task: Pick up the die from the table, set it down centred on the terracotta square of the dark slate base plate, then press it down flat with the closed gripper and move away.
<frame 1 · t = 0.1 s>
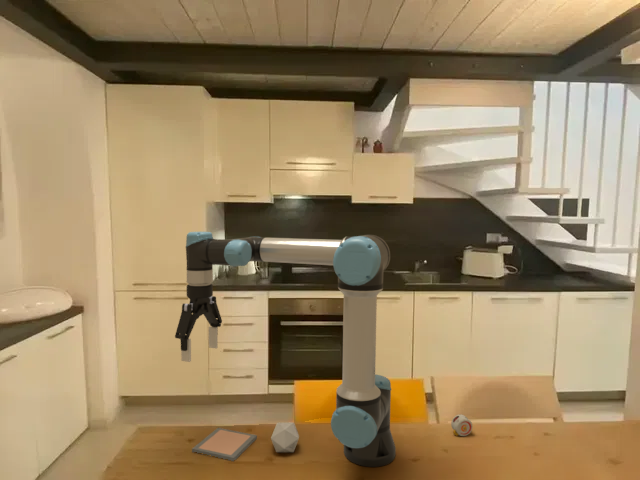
hand: (200, 354, 138), 28 cm above the table, tool pointing down, fingers open, 13 cm apart
roller toy: (461, 434, 148), on the table
die: (285, 450, 137), on the table
base plate: (225, 445, 139), on the table
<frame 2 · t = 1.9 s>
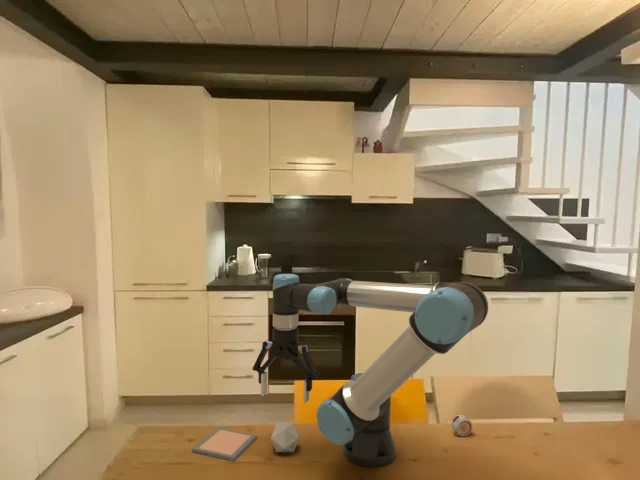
hand: (284, 397, 136), 16 cm above the table, tool pointing down, fingers open, 13 cm apart
nothing on the table moved.
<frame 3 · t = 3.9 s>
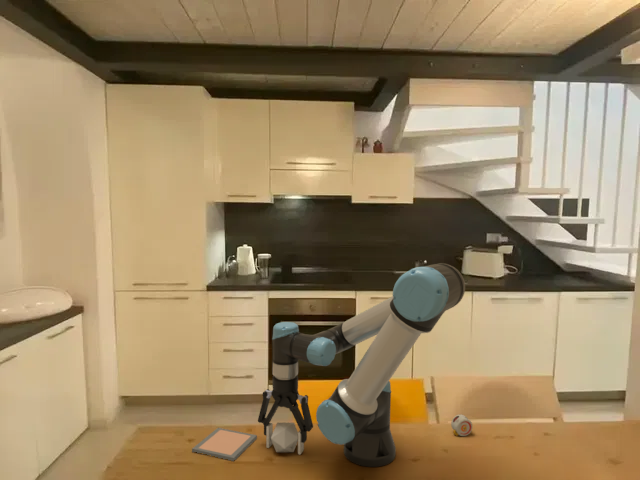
hand: (285, 448, 137), 0 cm above the table, tool pointing down, fingers open, 9 cm apart
die: (285, 450, 137), on the table, touching gripper
everything else where it was.
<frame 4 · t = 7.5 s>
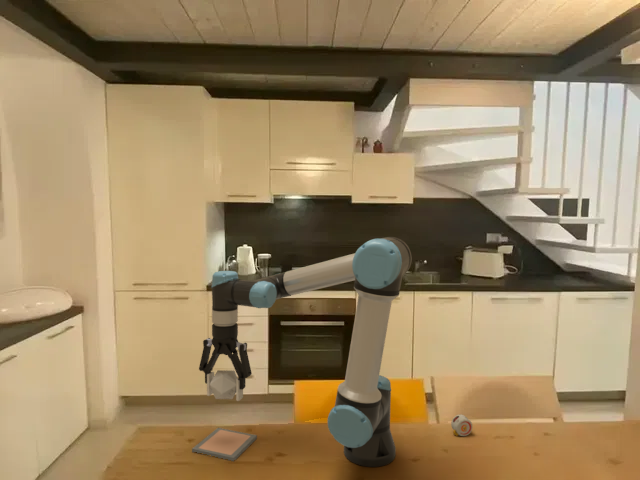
hand: (224, 396, 138), 15 cm above the table, tool pointing down, fingers closed on die, 9 cm apart
die: (225, 397, 139), point 15 cm above the table, touching gripper
everything else where it was.
when the fingers open (2 cm above the table, at t = 10.0 s): die drops 1 cm, resting on base plate.
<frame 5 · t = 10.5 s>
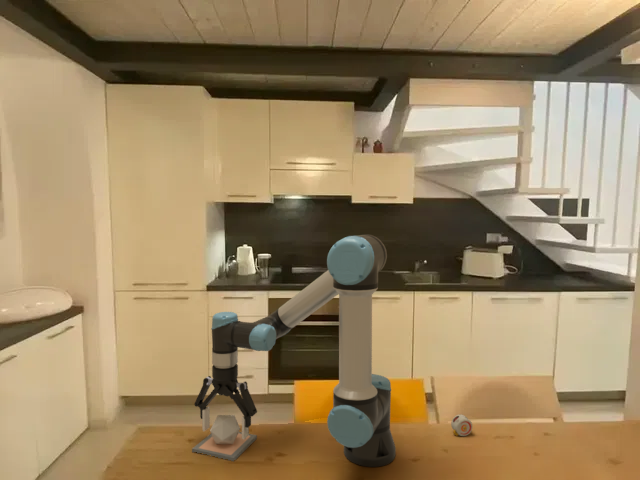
hand: (225, 433, 139), 4 cm above the table, tool pointing down, fingers open, 13 cm apart
die: (225, 442, 139), point 1 cm above the table, touching base plate
everything else where it was.
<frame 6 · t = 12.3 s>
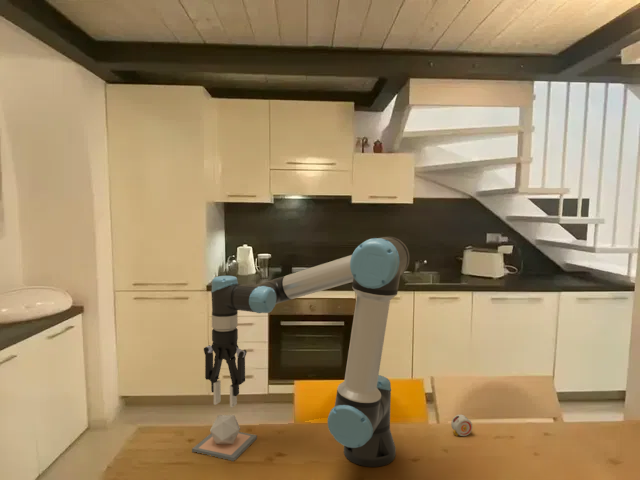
hand: (225, 404, 139), 13 cm above the table, tool pointing down, fingers open, 5 cm apart
nothing on the table moved.
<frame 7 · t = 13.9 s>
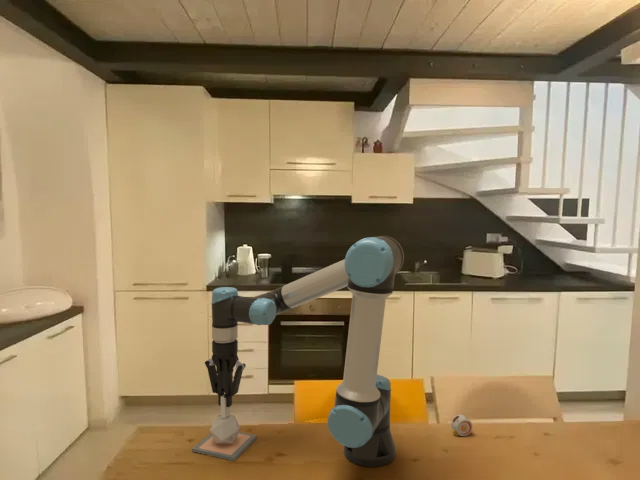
hand: (225, 416, 139), 9 cm above the table, tool pointing down, fingers closed
die: (225, 442, 139), point 1 cm above the table, touching base plate, gripper
everything else where it was.
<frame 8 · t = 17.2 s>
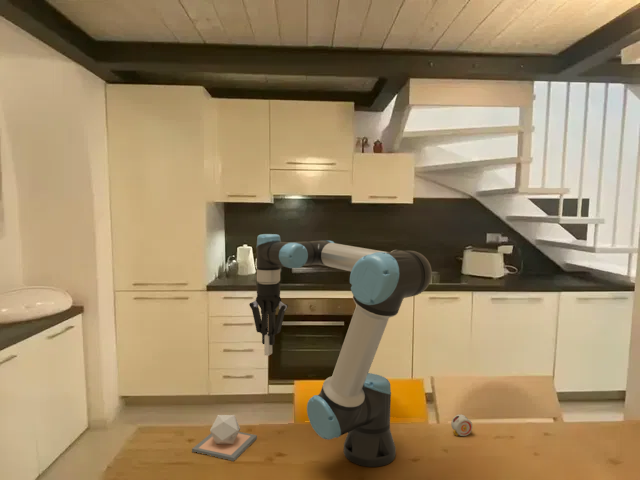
hand: (268, 354, 149), 24 cm above the table, tool pointing down, fingers closed
die: (225, 442, 139), point 1 cm above the table, touching base plate
everything else where it was.
at the end: die 0.0 cm off-centre on the base plate, point 0.8 cm above the base plate's base; die tilted 0°; the gripper is holding nothing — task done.
